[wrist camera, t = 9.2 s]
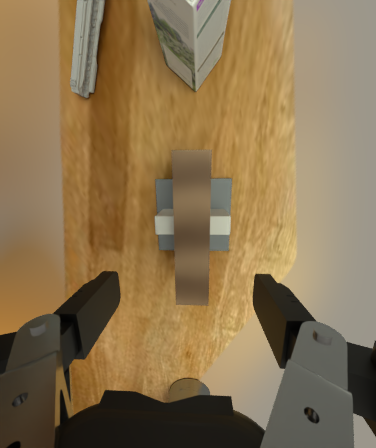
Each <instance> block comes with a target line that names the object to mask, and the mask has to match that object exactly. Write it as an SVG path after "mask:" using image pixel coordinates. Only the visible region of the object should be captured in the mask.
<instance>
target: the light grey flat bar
mask: <svg viewBox="0 0 376 448" xmlns="http://www.w3.org/2000/svg"><path fill="white" fill-rule="evenodd" d="M104 5H105V0H77V9H76V22H75V35H74V47H73V59H72V72H71V78H70V79H71V81H70V82H71V83H70V86H71V88H72V91H73V92H74V93H76V94H78V95H80V96H83V97H85V98H88V97H89V92H91V93H94V88H95V80H96V72H97V50H98V42H99V34H100V26H101V23H102V20H103V13H104Z"/></svg>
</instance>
